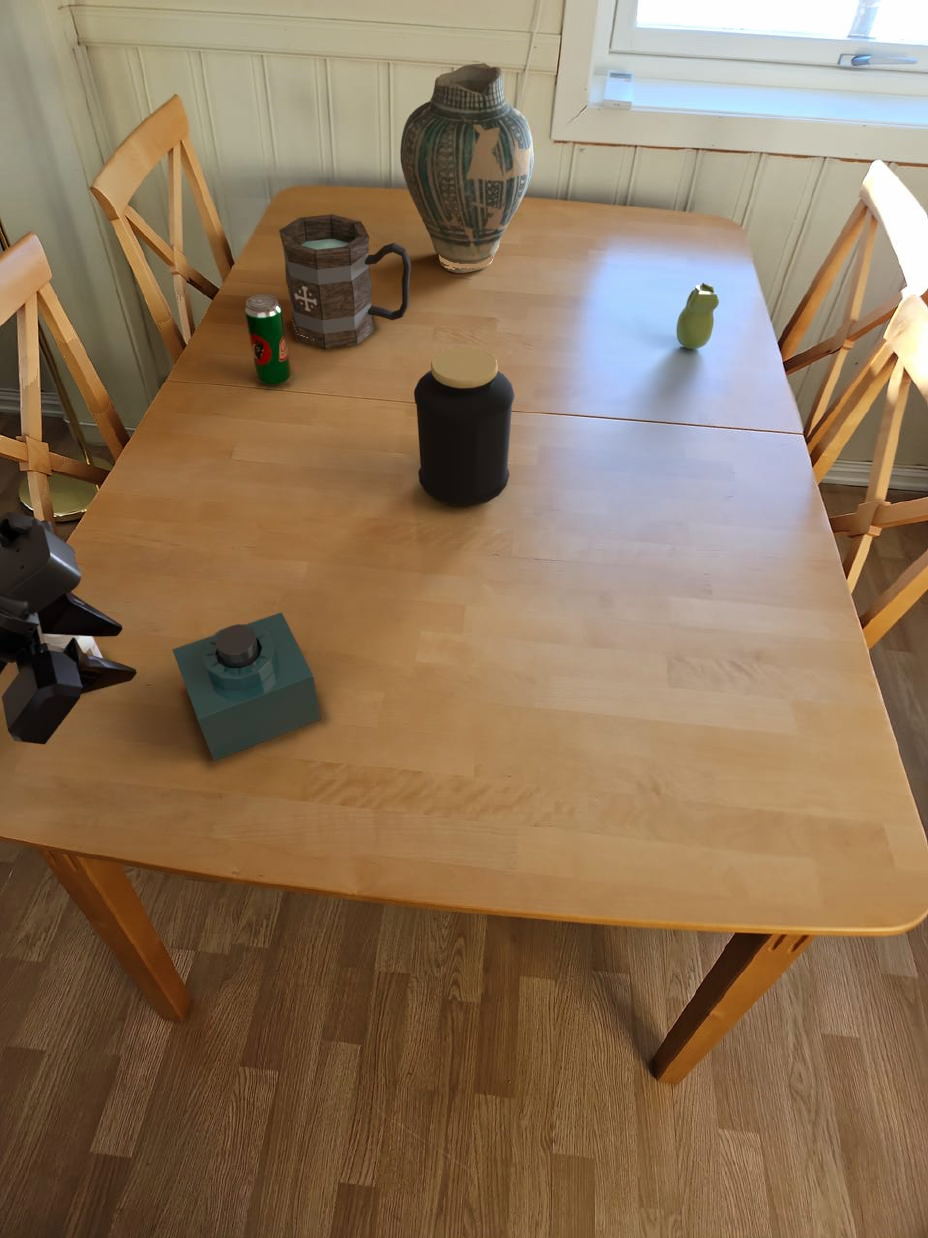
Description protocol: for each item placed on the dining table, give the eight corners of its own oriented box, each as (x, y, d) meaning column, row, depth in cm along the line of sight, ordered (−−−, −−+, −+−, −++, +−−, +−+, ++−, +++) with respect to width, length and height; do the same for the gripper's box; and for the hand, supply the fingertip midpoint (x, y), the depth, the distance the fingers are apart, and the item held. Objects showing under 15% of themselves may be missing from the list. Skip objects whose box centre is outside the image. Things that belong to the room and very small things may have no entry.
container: (407, 463, 110) (403, 340, 96) (493, 451, 112) (501, 330, 99) (427, 523, 102) (425, 398, 89) (519, 509, 104) (531, 385, 91)
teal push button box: (213, 761, 79) (193, 707, 72) (188, 693, 84) (167, 637, 77) (321, 719, 82) (311, 664, 76) (291, 656, 88) (279, 599, 81)
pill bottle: (63, 693, 84) (36, 645, 78) (60, 662, 86) (33, 613, 81) (108, 681, 85) (84, 633, 79) (104, 650, 87) (80, 601, 82)
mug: (282, 346, 128) (267, 250, 117) (300, 303, 137) (288, 211, 126) (406, 354, 128) (404, 259, 117) (417, 311, 137) (415, 219, 126)
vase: (541, 248, 154) (560, 60, 131) (499, 301, 140) (512, 102, 117) (432, 225, 159) (432, 41, 136) (382, 274, 145) (372, 78, 122)
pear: (701, 337, 134) (717, 277, 126) (712, 354, 130) (729, 294, 123) (668, 338, 133) (682, 278, 126) (678, 355, 130) (693, 295, 122)
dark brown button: (226, 673, 75) (221, 659, 74) (215, 646, 77) (210, 632, 76) (264, 660, 76) (260, 646, 75) (252, 633, 78) (248, 619, 77)
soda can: (292, 386, 121) (280, 309, 112) (257, 388, 121) (242, 311, 112) (291, 367, 125) (280, 291, 116) (257, 369, 124) (243, 293, 115)
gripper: (-4, 616, 51) (209, 665, 62) (-36, 448, 61) (151, 517, 73) (-85, 735, 54) (132, 760, 66) (-102, 556, 65) (87, 605, 77)
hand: (126, 652), depth 70 cm, fingers open, 5 cm apart
